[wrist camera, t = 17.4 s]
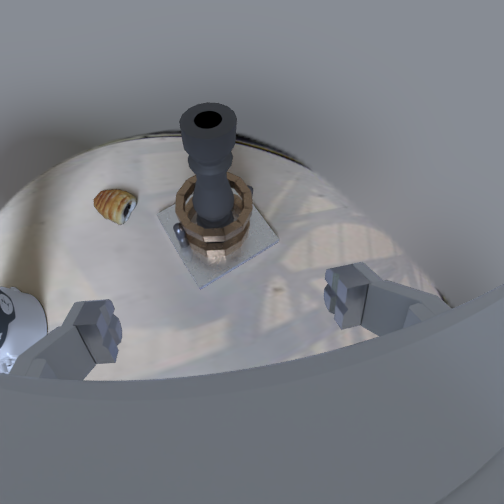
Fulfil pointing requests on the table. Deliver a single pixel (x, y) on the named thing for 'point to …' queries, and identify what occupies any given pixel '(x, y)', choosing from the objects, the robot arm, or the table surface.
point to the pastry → (115, 205)
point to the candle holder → (210, 161)
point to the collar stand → (216, 233)
